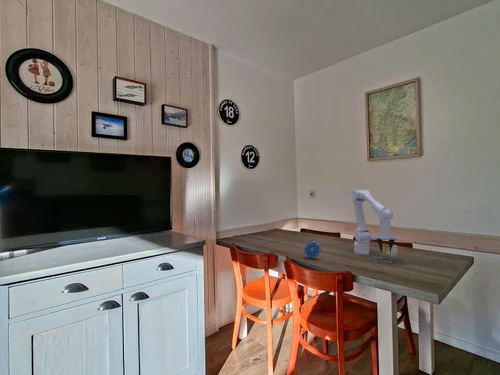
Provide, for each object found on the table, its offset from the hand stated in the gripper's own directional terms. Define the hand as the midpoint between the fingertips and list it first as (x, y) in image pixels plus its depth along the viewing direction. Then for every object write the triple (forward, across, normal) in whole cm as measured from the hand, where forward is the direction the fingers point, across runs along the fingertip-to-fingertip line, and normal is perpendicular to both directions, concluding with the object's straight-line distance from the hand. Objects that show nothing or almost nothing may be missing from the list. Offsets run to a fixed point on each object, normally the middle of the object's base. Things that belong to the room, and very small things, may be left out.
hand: (385, 251), depth 159 cm
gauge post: (+6, +6, +8) cm, 12 cm away
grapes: (+7, -43, -2) cm, 44 cm away
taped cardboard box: (+2, 0, 0) cm, 2 cm away
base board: (+7, +1, +3) cm, 7 cm away
